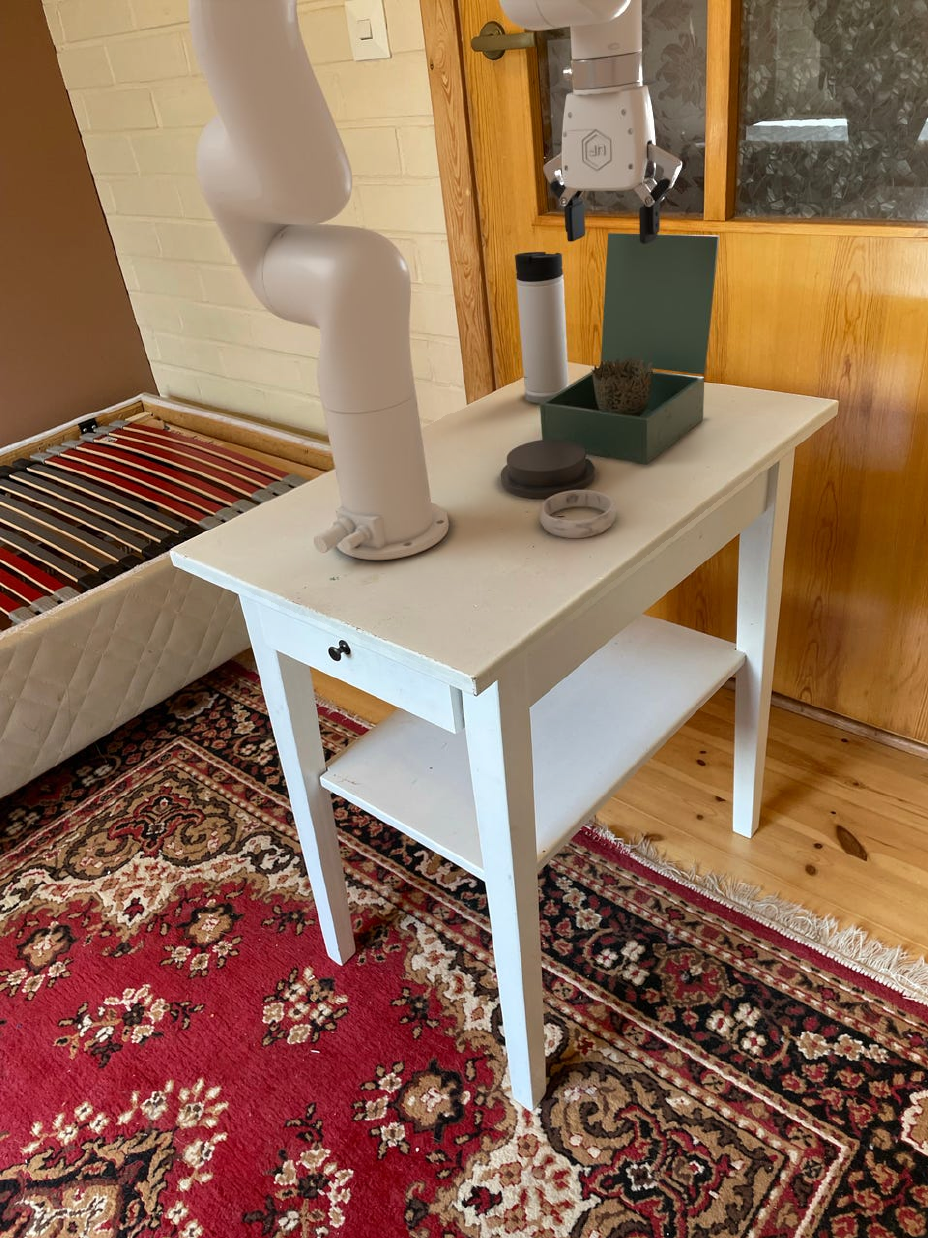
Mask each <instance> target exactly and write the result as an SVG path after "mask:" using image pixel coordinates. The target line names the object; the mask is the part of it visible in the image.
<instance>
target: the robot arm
mask: <svg viewBox="0 0 928 1238" xmlns="http://www.w3.org/2000/svg"><path fill="white" fill-rule="evenodd" d="M498 1H499V2H498V3H499V5H500V7H501V10H502V12H503V14H504V15H505V16H506V18H507V19H508V20H509V21H510V22H511V23H513V24H514V25H515V26H517V27H519V28H521V29H523V30H528V31H548V30H557V29H564V28H568V27H570V48H571V49H570V50H571V60H570V66H565V67H563V73H562V74H563V79H564V80H565V81H570V82H571V87H572V88H573V89H572V91H573V92H569V93H566V96H565V103H564V110H563V119H562V131H561V152H560V153H558V154H557V155H556V156H554V157H553V158H552V159H550V160H549V161H548V162H547V163H545V164H544V165H543V167H542V171H543V173H544V176H545V177H546V179H547V182H548V184H550V185H549V188H550V190H551V191H552V193H553V194H554V196H556V197H557V199H558V200H559V205H560V206H561V207H563V208H564V209H563V210H564V227H565V233H566V237H567V238H566V239H567V242H569V243H572V242H575V241H577V240H579V239H582V238H584V237H585V236H586V219H585V218H586V217H585V203H584V201H583V200H580V199H581V197H582V195H583V194H584V193H585V192H611V191H612V192H614V191H615V192H616V191H618V192H620V191H621V192H622V191H630V190H633V191H634V192H635V193H636V194H637V196H638V198H639V199H640V200H641V202H642V203H643V205H642V206H640V207H639V210H638V215H639V216H638V217H639V218H638V222H639V223H638V225H639V228H638V229H639V230H638V231H639V233H638V234H640V242H641V243H642V244H647V243H649V242H650V241H652V240H654V239H656V238H657V234H659V232H660V227H661V226H660V225H661V221H660V219H661V218H660V217H661V216H660V215H661V213H660V211H661V210H660V209H661V207H660V205H661V202H663V200H664V199H665V197H666V196H667V195H668V193H669V192H670V191H671V190H672V188H673V187H674V186H675V181H676V180H677V178H678V175H679V173H680V171H681V169H682V166H683V162H682V160H681V159H679V158H678V157H676V156H675V155H673V154H671V153H669V152H668V151H666V150H665V149H662V148H661V147H659V146H658V145H657V144H656V133H655V123H654V122H655V121H654V114H653V107H652V103H651V97H650V93H649V92H650V91H649V87H648V84H647V85H643V28H642V27H643V20H642V19H643V14H642V13H643V12H642V11H643V9H642V6H643V5H642V0H498ZM297 4H298V3H297V0H188V23H189V33H190V39H191V42H192V47H193V50H194V54H195V58H196V60H197V63H198V66H199V68H200V72H201V73H202V76H203V78H204V81H205V84H206V85H207V88H208V91H209V92H210V95H211V97H212V100H213V102H214V106H215V108H216V111H217V112H218V113H217V114H216V115H214V116H213V117H212V118H211V119H210V120H209V121H208V122H207V123H206V124H205V126H204V128H203V130H202V131H201V134H200V136H199V138H198V142H197V146H196V153H195V165H196V173H197V180H198V183H199V188H200V190H201V193H202V196H203V199H204V202H205V203H206V206H207V207H208V210H209V212H210V213H211V216H212V217H213V220H214V221H215V223H216V225H217V227H218V229H219V231H220V233H221V235H222V237H223V239H224V241H225V242H226V244H227V246H228V248H229V250H230V252H231V255H232V256H233V258H234V260H235V261H236V263H237V265H238V267H239V269H240V271H241V272H242V275H243V276H244V278H245V280H246V282H247V284H248V286H249V288H250V289H251V291H252V292H253V294H254V295H255V297H256V298H257V300H258V301H259V302H260V304H261V305H262V306H263V307H264V308H265V309H266V310H267V311H268V312H270V313H271V314H272V315H274V316H276V317H277V318H279V319H281V320H284V321H286V322H290V323H294V324H299V325H304V326H308V327H312V328H316V329H318V330H320V331H319V332H320V336H321V337H320V346H319V351H318V358H317V365H316V367H317V368H316V373H317V374H316V376H317V386H318V393H319V397H320V402H321V403H320V404H321V406H322V410H323V411H322V412H323V415H324V421H325V425H326V431H327V436H328V440H329V446H330V451H331V456H332V461H333V466H334V471H335V476H336V481H337V486H338V491H339V496H340V501H341V505H342V506H339V507H338V508H336V509H335V514H336V520H335V521H334V522H333V524H332V527H330V528H328V529H326V530H324V531H322V532H321V533H320V534H319V533H318V534H317V535H316V536H315V537H313V544H314V547H315V548H316V550H317V551H318V552H319V553H322V554H325V553H328V552H329V551H331V550H332V549H334V548H335V547H337V549H338V550H339V551H340V552H341V553H343V554H344V555H347V556H349V557H351V558H356V559H359V560H365V561H385V560H386V561H387V560H395V559H402V558H406V557H409V556H410V557H411V556H413V555H416V554H419V553H421V552H424V551H426V550H428V549H429V548H432V547H433V546H435V545H437V543H439V542H440V541H441V540H442V539H443V538H444V537H445V536H446V534H447V533H448V532H449V527H450V523H449V516H448V514H447V512H446V510H444V508H442V507H441V506H440V505H438V504H436V503H433V502H432V498H431V497H432V496H431V489H430V483H429V477H428V469H427V463H426V454H425V447H424V440H423V434H422V427H421V419H420V413H419V405H418V399H417V392H416V387H415V386H416V385H415V378H414V371H413V363H412V353H411V343H410V339H411V338H410V337H411V336H410V320H411V319H410V318H411V317H410V316H411V301H412V300H411V297H412V285H411V276H410V271H409V267H408V264H407V262H406V259H405V257H404V256H403V254H402V253H401V251H400V249H399V248H398V247H397V246H396V245H395V244H394V243H393V242H392V241H391V240H390V239H388V238H387V237H386V236H384V235H382V234H381V233H379V232H376V231H374V230H372V229H368V228H363V227H361V226H360V227H359V226H353V225H343V224H342V225H340V224H329V223H325V222H328V221H330V220H332V219H334V218H336V217H337V216H338V215H340V214H341V212H343V211H344V209H345V208H346V207H347V205H348V203H349V201H350V199H351V195H352V190H353V173H352V167H351V164H350V160H349V157H348V154H347V151H346V149H345V146H344V142H343V140H342V138H341V135H340V133H339V131H338V128H337V126H336V122H335V121H334V118H333V116H332V112H331V111H330V108H329V106H328V104H327V103H328V102H327V101H326V98H325V95H324V94H323V91H322V89H321V86H320V84H319V81H318V79H317V76H316V73H315V71H314V68H313V65H312V63H311V61H310V57H309V55H308V52H307V48H306V46H305V44H304V40H303V38H302V34H301V29H300V26H299V18H298V10H297V9H298V8H297ZM656 165H657V166H659V167H661V168H662V171H663V173H662V176H661V179H660V180H659V181H658V183H657V182H656V180H655V179H654V177H655V175H656V169H657V168H656Z"/></svg>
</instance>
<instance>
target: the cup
mask: <svg viewBox="0 0 928 1238" xmlns="http://www.w3.org/2000/svg"><path fill="white" fill-rule="evenodd" d="M621 363H622V364H621ZM598 367H599V368H598ZM652 371H654V369H653V366H652V362H651V363H649V366H648V367H647V366H644V361H643V360H642V359H639V360H638V362H637V361H636V360H635V359H633V358H631V357H628V358H627V359H626V360H625V361H624V362H621V360H619V359H618V358H617V359H616V360H615V363H614V364H612V362H611V361H609V360H607V361H606V362H605V363H603V362H601V361H600V364H599V366H597V365H595V364H594V367H593V368H591V372H592V376H593V383H594V389H595V395H596V401H597V405H598V408H599V410H600V411H604V412H611V413H618V414H624V415H631V416H640V415H641V414H642V413H643V412H644V411H645V409H646V407H647V405H648V402H649V397H650V390H651V381H652Z"/></svg>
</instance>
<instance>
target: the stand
mask: <svg viewBox="0 0 928 1238" xmlns="http://www.w3.org/2000/svg"><path fill="white" fill-rule="evenodd" d="M595 476H596V475H595V465H594V463H593V462H592V461H591V460H590V459H588V458H587V454H586V451H585V449H584V448H583V447H582V446H581V445H580V444H578V443H575V442H572V441H567V440H559V439H547V440H542V439H539V440H533V441H528V442H525V443H522V444H520V445H517V446H516V447H514V448H513V449H511V450H510V451H509V452H508V453H507V455H506V464H505V466H503V467H502V469H501V471H500V475H499V477H500V484H501V486H502V488H503V489H504V491H506V492H508V493H509V494H512V495H514V496H517V497H520V498H525V499H533V500H535V499H536V500H547V499H548V498H549V497H551V496H553V495H555V494H558V493H561V492H566V491H572V490H585V489H586V488H587V487H589V486H590V485H591V484H592V483H593V481H594V479H595Z"/></svg>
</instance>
